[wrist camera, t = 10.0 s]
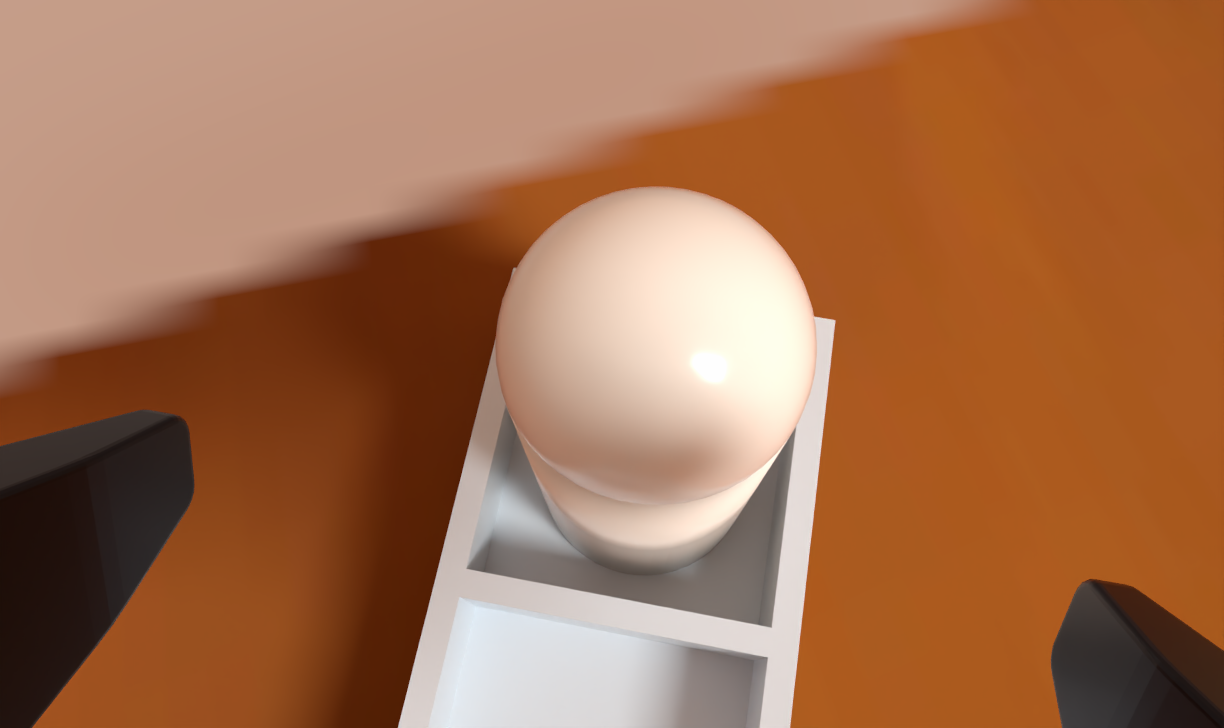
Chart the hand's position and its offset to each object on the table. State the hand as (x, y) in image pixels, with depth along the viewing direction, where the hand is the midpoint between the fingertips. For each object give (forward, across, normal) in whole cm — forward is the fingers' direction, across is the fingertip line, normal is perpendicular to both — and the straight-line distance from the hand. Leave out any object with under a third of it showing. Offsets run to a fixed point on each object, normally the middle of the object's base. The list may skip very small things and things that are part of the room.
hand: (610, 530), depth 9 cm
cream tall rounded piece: (+12, 0, +6) cm, 13 cm away
